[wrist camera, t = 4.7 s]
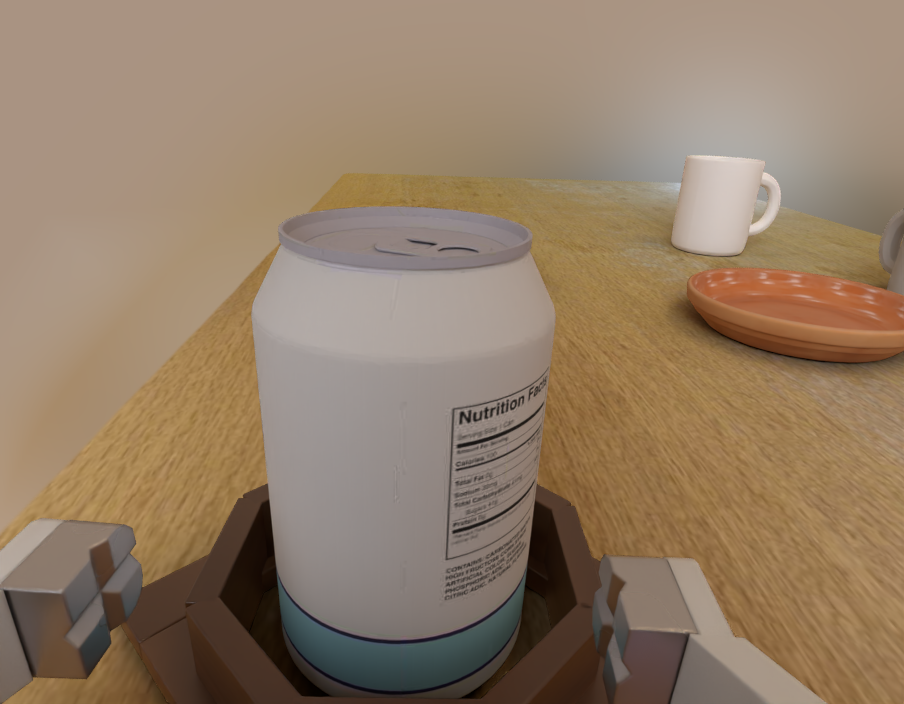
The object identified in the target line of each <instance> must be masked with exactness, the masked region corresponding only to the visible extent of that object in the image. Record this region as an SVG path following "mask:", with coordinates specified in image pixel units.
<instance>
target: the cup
mask: <svg viewBox="0 0 904 704" xmlns="http://www.w3.org/2000/svg"><path fill="white" fill-rule="evenodd" d="M903 235H904V209H903V210H901V211H899V212H898V213H896V214H895V215H894V216H893V217H892V219H891V220H890V221H889V222H888V224H887V226H886V228H885V230H884V232H883V234H882V238H881V241H880V246H879V260H880V263H881V265H882V267H883V269H884V270H886V271H887V272H888V273H889V274H891V276H890V279H889V282H888V286H887V290H889V291H892V292H895V293H898V294H901V295H903V296H904V238H903ZM902 238H903V241H902V244H901V240H902ZM900 244H901V247H900Z"/></svg>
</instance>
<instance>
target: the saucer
mask: <svg viewBox="0 0 904 704" xmlns="http://www.w3.org/2000/svg"><path fill="white" fill-rule="evenodd" d="M687 296H688V299H689V300H690V302H691V303H692V304H693V306H694V308H695V309H696V311H697V312H699V313H700V315H701V316H702V317H703V319H704V320H705V321H706V322H707V323H708V324H709V326H711V327H712V328H713V329H714V330H716V331H718V332H719V333H721V334H723V335H725V336H727V337H729V338H731V339H733V340H736V341H738V342H741V343H744V344H747V345H749V346H752V347H756V348H759V349H763V350H766V351H770V352H774V353H779V354H784V355H789V356H794V357H799V358H806V359H813V360H821V361H832V362H853V363H857V362H871V361H878V360H883V359H886V358H889V357H891V356H894V355H896V354H898V353H901V352H903V351H904V296H903V295H901V294H898V293H895V292H892V291H889V290H885V289H882V288H878V287H875V286H871V285H867V284H863V283H859V282H855V281H850V280H845V279H841V278H835V277H830V276H825V275H818V274H812V273H805V272H797V271H788V270H778V269H765V268H721V269H712V270H707V271H703V272H699V273H697V274H694V275H693V276H691V277H690V278H689V280H688V282H687Z"/></svg>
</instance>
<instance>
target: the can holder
mask: <svg viewBox="0 0 904 704" xmlns="http://www.w3.org/2000/svg"><path fill="white" fill-rule="evenodd" d="M600 563H601V562H600V561H598V560H597V559H595V558H593V557H592V556H591V554H590V551H589V548H588V545H587V542H586V539H585V536H584V533H583V530H582V527H581V524H580V521H579V518H578V515H577V511H576V508H575V506H571V503H570V502H569V501H567V500H566V499H564V498H562V497H560V496H558V495H556V494H554V493H553V492H551V491H549V490H547V489H545V488H543V487H542V486H540V485H538V484H537V485H536V493H535V502H534V511H533V519H532V528H531V537H530V545H529V554H528V562H527V571H526V580H525V585H526V586H528V587H529V588H531V589H532V590H534V591H535V592H537V593H538V594H540V595H541V596H542V597H544V598H545V599H546V603H547V608H548V613H549V618H550V622H551V627H552V629H551V630H550V631H549V632H548V633H547V634H546V635H545V636H544V637H543V638H542V639H541V640H540V641H539V642H538V643H537V644H536V645H535V646H534V647H533V648H532V649H531V650H530V651H529V652H528V653H527V654H526V655H525V656H524V657H523V658H522V659H521V660H520V661H519V662H518V663H517V664H516V665H515V666H514V667H513V668H512V669H511V670H510V671H509V672H508V673H507V674H506V675H505V676H504V677H503V678H502V679H501V680H500V681H499V682H498V683H497V684H496V685H494V686H493V687H492V688H491V689H490V690H489V691H488V692H487V693H486V694H485V695H484V696H483V697H482V698H481V699H449V698H375V697H302V696H301V695H300V694H299V693H298V691H297V690H296V689H295V688H294V687H293V685H292V684H291V683H290V682H289V681H288V679H287V678H286V677H285V676H284V675H283V673H282V672H281V671H280V670H279V669H278V667H277V666H276V665H275V664H274V663H273V661H272V660H271V659H270V658H269V657H268V655H267V654H266V653H265V652H264V651H263V649H262V648H261V647H260V646H259V645H258V643H257V642H256V641H255V640H254V639H253V637H252V636H251V635H250V634H249V631H250V628H251V625H252V622H253V620H254V617H255V614H256V611H257V609H258V606H259V603H260V601H261V598H262V595H263V593H264V592H266V591H267V590H269V589H271V588H272V587H274V586H276V585H278V580H277V570H276V560H275V550H274V539H273V529H272V519H271V509H270V499H269V489H268V484H265V485H263V486H261V487H259V488H256V489H254V490H252V491H250V492H248V493H245V494H244V495H243V498H239V499H238V500H237V502H236V504H235V506H234V508H233V510H232V512H231V514H230V516H229V518H228V520H227V521H226V523H225V525H224V527H223V529H222V531H221V533H220V535H219V537H218V539H217V541H216V543H215V545H214V547H213V548H212V550H211V552H210V554H209V555H207V556H205V557H203V558H201V559H199V560H197V561H195V562H193V563H191V564H189V565H187V566H185V567H183V568H181V569H179V570H177V571H175V572H173V573H171V574H169V575H167V576H165V577H163V578H161V579H159V580H157V581H155V582H153V583H151V584H149V585H147V586H145V587H143V588H142V590H141V593H140V596H139V599H138V602H137V605H136V607H135V609H134V610H133V612H132V613H131V615H130V616H129V618H128V620H127V621H126V622H124V623H122V624H121V627H122V628H123V630H124V632H125V633H126V635H127V637H128V638H129V640H130V641H131V643H132V645H133V646H134V648H135V650H136V651H137V653H138V655H139V656H140V658H141V659H142V660H143V662H144V665H145V666H146V668H147V670H148V671H149V673H150V675H151V676H152V678H153V680H154V681H155V683H156V684H157V686H158V688H159V689H160V691H161V693H162V694H163V696H164V698H165V699H166V701H167V702H168V704H608V699H607V695H606V690H605V686H604V682H603V677H602V674H603V669H604V663H605V659H604V658H603V657H602V656H601V655H600V654H599V653H598V652H597V650H596V645H595V641H594V634H593V626H592V617H593V602H594V595H595V592H596V591H597V590H598V589H600V588H601V587H602V584H601V580H600V576H599V568H600Z"/></svg>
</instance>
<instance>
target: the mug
mask: <svg viewBox="0 0 904 704" xmlns="http://www.w3.org/2000/svg"><path fill="white" fill-rule="evenodd" d="M764 167H765V161H762V160H755V159H748V158H737V157H724V156H723V157H722V156H703V155H692V156H687V157H686V161H685V167H684V172H683V177H682V182H681V188H680V193H679V198H678V204H677V209H676V214H675V220H674V225H673V230H672V237H671V242H672V244H673V246H674V247H676V248H677V249H680V250H683V251H686V252H691V253H696V254H702V255H710V256H734V255H738V254H740V253H741V252H742V251H743V250H744V248H745V245H746V242H747V238H748V236H754V235H757V234H759V233H761V232H762V231H764V230H765V229H766V228H767V227H768V226H769V225H770V224H771V223H772V222H773V220H774V219H775V217H776V215H777V213H778V210H779V207H780V201H781V194H780V193H781V192H780V187H779V185H778V182H777V181H776V180H775V178H773V177H772V176H771V175H769V174H767V173H765V172H763V171H764ZM760 186H762V187H764V188H765V189H766V191H767V194H768V204H767V208H766V210H765V213H764V214H763V216H762V217H761V219H760V220H759V221H758V222H756V223H754V224H751V221H752V217H753V213H754V209H755V204H756V200H757V196H758V192H759V187H760Z"/></svg>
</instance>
